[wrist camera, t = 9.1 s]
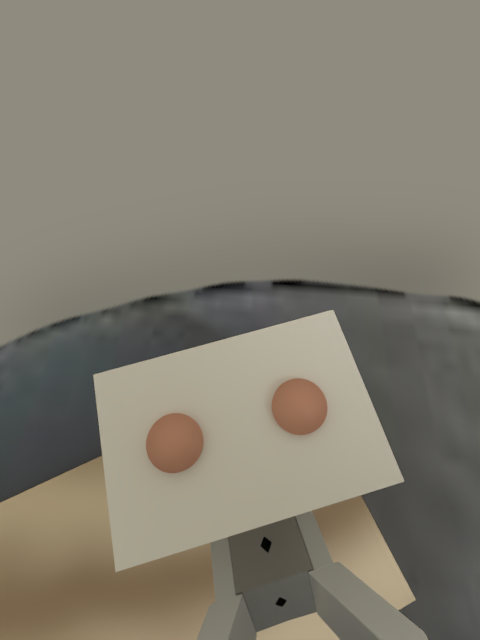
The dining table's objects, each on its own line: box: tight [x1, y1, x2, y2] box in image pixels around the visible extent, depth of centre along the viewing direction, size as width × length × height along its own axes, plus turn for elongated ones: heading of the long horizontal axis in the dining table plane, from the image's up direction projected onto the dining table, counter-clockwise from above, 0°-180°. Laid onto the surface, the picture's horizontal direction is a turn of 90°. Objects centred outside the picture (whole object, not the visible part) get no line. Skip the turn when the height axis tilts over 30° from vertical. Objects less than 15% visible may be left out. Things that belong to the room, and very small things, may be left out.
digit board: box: [0, 456, 416, 640], centre depth 13 cm, size 10×26×1 cm, turn 114°
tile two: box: [93, 310, 404, 572], centre depth 11 cm, size 4×6×8 cm
